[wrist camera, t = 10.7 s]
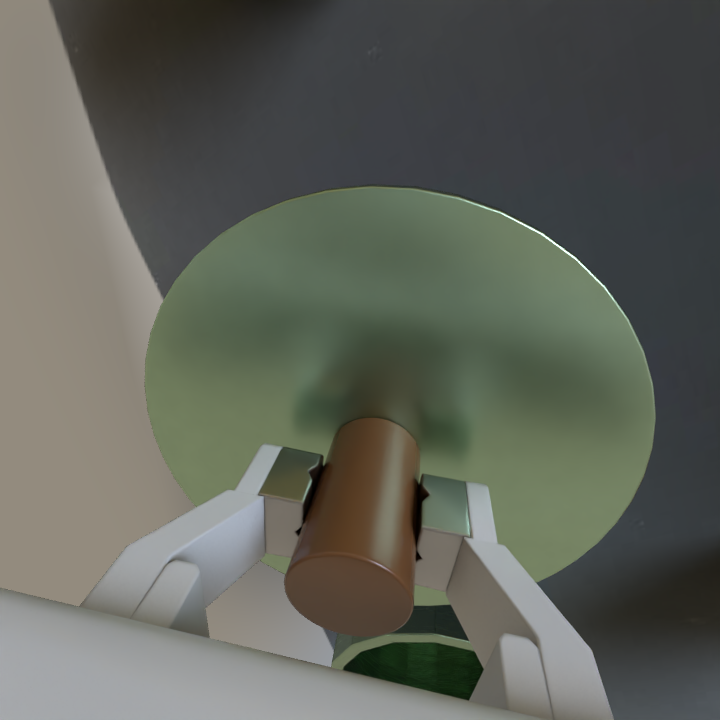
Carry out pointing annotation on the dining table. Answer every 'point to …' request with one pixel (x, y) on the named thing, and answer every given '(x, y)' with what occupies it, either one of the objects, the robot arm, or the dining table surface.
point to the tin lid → (402, 385)
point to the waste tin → (416, 654)
